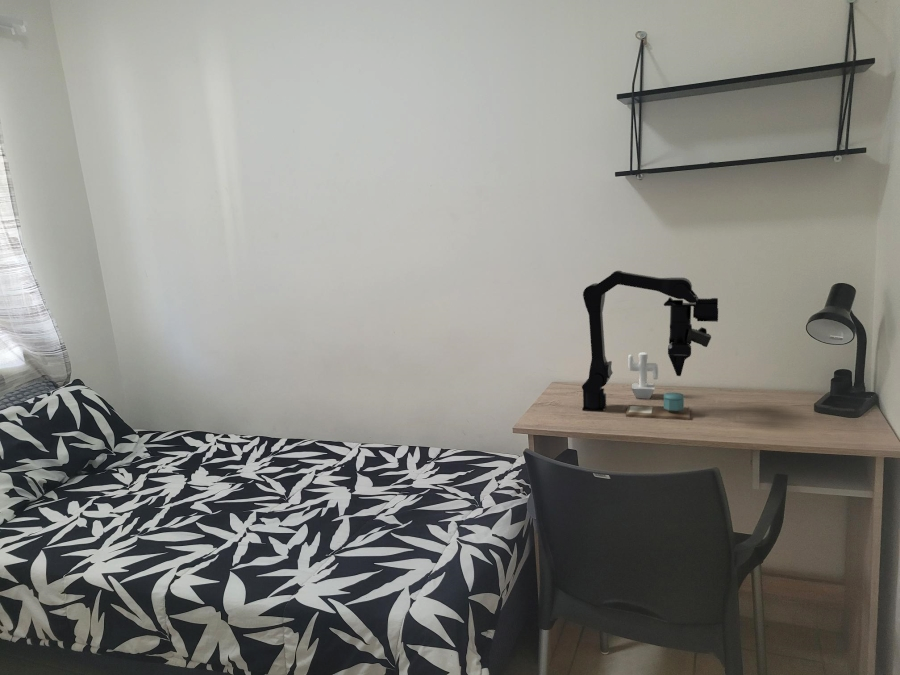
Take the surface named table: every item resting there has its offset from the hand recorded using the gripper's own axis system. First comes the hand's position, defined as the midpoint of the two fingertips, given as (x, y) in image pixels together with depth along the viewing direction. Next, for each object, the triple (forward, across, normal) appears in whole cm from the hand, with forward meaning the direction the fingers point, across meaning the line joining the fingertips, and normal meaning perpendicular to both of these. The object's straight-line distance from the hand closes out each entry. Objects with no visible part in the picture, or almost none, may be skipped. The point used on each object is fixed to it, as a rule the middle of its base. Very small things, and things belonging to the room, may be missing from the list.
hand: (679, 372), depth 185 cm
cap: (+11, -1, +1) cm, 11 cm away
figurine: (+13, +17, +11) cm, 24 cm away
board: (+13, -1, +6) cm, 14 cm away
